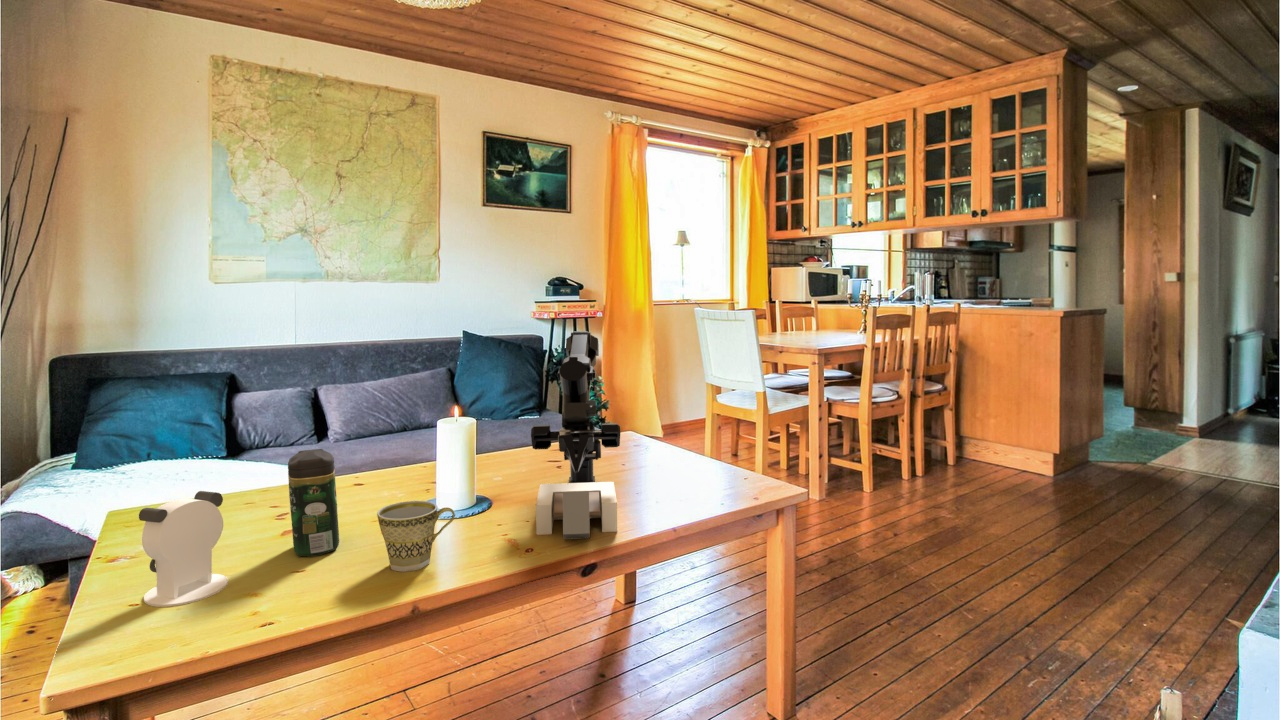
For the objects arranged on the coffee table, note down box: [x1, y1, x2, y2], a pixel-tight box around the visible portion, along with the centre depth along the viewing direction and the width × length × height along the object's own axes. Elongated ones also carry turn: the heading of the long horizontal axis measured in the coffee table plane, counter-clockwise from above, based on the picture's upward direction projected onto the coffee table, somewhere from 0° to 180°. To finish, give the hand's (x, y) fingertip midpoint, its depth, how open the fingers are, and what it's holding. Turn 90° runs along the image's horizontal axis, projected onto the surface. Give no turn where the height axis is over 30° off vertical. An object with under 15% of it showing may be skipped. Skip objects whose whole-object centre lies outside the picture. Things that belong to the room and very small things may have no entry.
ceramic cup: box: [376, 500, 456, 573], centre depth 118 cm, size 13×10×10 cm
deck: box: [535, 481, 618, 536], centre depth 139 cm, size 14×16×6 cm
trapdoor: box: [553, 491, 600, 517], centre depth 136 cm, size 9×9×1 cm
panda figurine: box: [138, 490, 229, 608], centre depth 108 cm, size 12×11×15 cm
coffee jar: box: [287, 448, 340, 557], centre depth 125 cm, size 10×8×19 cm
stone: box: [562, 491, 591, 540], centre depth 129 cm, size 5×5×8 cm
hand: (576, 471), depth 137 cm, fingers closed
